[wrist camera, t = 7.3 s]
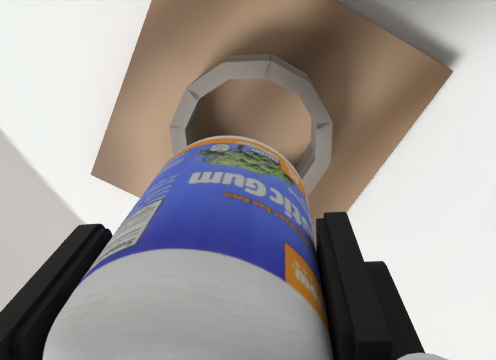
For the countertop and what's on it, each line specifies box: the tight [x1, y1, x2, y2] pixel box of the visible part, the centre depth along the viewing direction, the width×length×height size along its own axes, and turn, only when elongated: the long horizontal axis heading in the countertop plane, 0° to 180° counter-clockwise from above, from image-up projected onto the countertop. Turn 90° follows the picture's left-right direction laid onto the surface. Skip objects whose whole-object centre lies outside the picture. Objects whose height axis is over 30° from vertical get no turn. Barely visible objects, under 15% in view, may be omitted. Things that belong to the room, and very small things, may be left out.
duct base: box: [91, 0, 453, 245], centre depth 21 cm, size 16×16×4 cm
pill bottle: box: [43, 136, 334, 360], centre depth 8 cm, size 5×5×10 cm
